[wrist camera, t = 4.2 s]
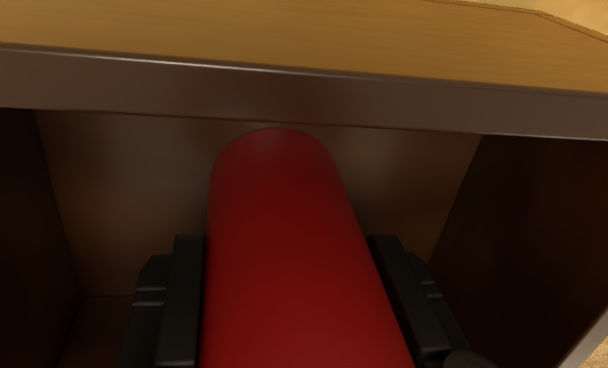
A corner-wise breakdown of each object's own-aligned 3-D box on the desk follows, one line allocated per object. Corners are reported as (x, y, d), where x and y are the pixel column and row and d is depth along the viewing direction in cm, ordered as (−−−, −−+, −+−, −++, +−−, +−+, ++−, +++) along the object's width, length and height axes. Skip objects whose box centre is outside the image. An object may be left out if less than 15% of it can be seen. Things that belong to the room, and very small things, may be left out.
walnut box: (-33, -62, 10) (-460, 5, 4) (541, 10, 13) (814, 111, 7) (69, 294, 17) (-20, 513, 11) (421, 285, 20) (503, 453, 14)
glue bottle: (349, 131, 13) (632, 698, 4) (326, 233, 16) (466, 728, 6) (209, 123, 12) (142, 829, 3) (209, 232, 15) (172, 805, 5)
